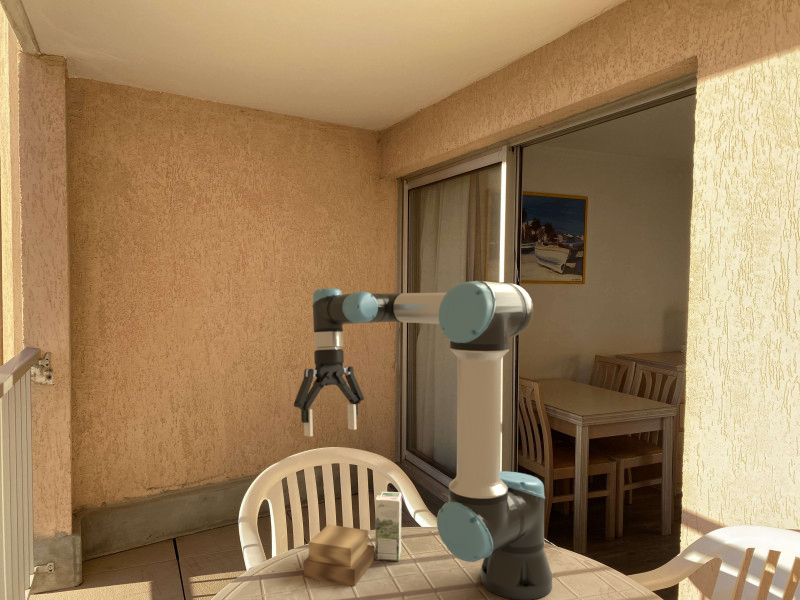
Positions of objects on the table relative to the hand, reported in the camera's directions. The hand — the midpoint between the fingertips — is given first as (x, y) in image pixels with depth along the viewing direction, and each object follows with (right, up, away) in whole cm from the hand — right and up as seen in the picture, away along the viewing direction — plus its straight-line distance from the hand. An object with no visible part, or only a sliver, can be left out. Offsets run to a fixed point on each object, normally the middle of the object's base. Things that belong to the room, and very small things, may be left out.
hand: (331, 432), depth 144 cm
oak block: (+4, -24, -16) cm, 29 cm away
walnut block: (+4, -28, -16) cm, 32 cm away
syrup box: (+15, -27, -10) cm, 32 cm away
